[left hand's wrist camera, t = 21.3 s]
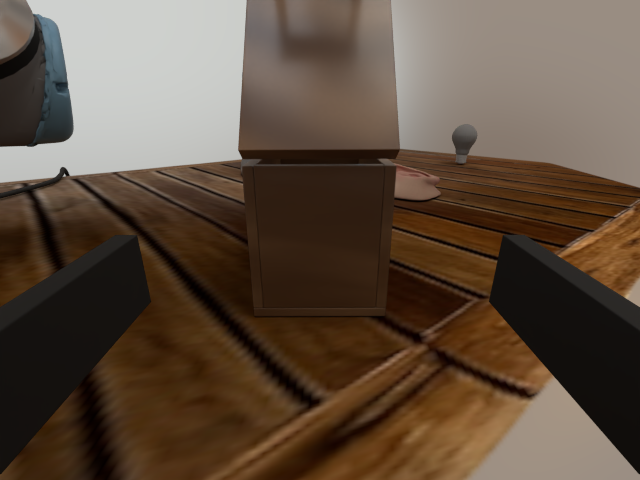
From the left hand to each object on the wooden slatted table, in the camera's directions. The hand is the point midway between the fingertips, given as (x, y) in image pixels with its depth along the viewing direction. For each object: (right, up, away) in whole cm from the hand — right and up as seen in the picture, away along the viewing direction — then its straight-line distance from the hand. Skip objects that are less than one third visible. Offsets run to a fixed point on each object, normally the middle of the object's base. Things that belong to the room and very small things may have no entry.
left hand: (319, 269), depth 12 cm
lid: (0, +14, +10) cm, 17 cm away
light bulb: (+38, +21, +78) cm, 90 cm away
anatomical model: (+16, +10, +48) cm, 52 cm away
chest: (0, -2, +19) cm, 19 cm away
